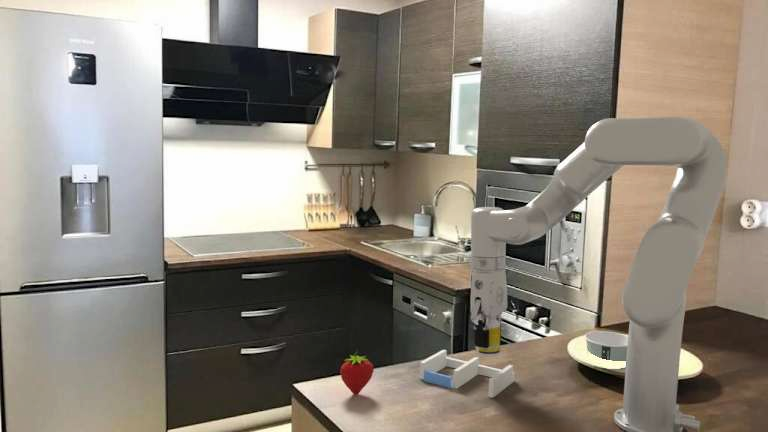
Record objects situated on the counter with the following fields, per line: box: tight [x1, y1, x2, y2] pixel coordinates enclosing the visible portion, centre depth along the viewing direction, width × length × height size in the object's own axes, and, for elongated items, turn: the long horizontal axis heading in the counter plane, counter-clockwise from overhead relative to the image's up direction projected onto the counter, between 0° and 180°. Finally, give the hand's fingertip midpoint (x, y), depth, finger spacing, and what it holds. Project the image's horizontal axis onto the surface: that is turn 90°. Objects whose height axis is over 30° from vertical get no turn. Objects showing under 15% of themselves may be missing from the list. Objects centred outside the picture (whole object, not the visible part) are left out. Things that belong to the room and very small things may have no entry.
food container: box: [583, 330, 628, 361], centre depth 162 cm, size 12×12×6 cm
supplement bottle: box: [475, 312, 501, 358], centre depth 144 cm, size 5×5×10 cm
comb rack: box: [419, 349, 516, 399], centre depth 148 cm, size 18×13×4 cm
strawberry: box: [339, 350, 375, 395], centre depth 139 cm, size 6×8×10 cm
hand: (487, 342), depth 144 cm, fingers closed on supplement bottle, 5 cm apart
